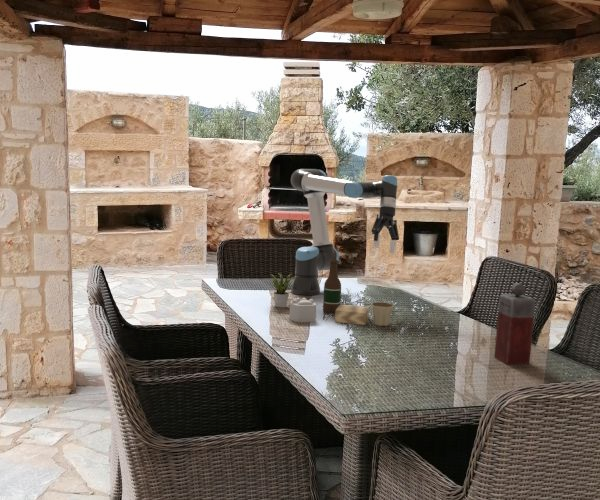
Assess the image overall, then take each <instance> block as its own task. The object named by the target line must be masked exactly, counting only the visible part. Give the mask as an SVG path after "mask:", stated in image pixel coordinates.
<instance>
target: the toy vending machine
mask: <svg viewBox="0 0 600 500" xmlns="http://www.w3.org/2000/svg"><path fill="white" fill-rule="evenodd" d="M510 291H511V293H512V294H511V293H508V294H507V293H506V294H505V293H502V294H500V295H499V299H498V300H499V302H498V310H497V311H498V312H497V324H496V335H495V345H494V346H495V347H494V355H493V357H494V358H495V359H496V360H498V361H499V362H501V363H503V364H504V365H506V366H515V365H516V366H519V365H520V366H521V365H530V362H531V353H532V352H531V350H532V340H533V332H534V331H533V330H534V329H533V328H534V320H535V318H534V317H535V310H536V309H535V308H536V307H535V306H536V300H535V299H534V298H533V297H529V296H528V295H527V296H526V295H524V294H525V292H526V287H525V285H524V284H522V283H518V282H515V283H513V284H512V285H511V288H510Z"/></svg>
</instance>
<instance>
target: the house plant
mask: <svg viewBox="0 0 600 500" xmlns="http://www.w3.org/2000/svg"><path fill="white" fill-rule="evenodd" d="M278 275H279V278H280V279H279V280H278V279H277V278H276V276H274V275H273V274H271V276H272V277H271V276H270V278H271V279H272V283H273V284H271V283H270V284H269V285H270V286H273V289H274V290H275V292H273V299H274V305H275V307H276V308H286V307H287V306H288V301H289V295H290V293H289V292H286V291H287V290H291V287H293V286H292V285H291V282H290V281H292V279H293V280H294V279H295V276H293V277H291V276H292V273H290V274H288V275H287V276H286V278H285V279H284V278H283V277H284V276H283V274H282V273H281V272H279V273H278ZM297 277H298V276H297ZM292 290H293V289H292Z"/></svg>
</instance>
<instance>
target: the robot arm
mask: <svg viewBox="0 0 600 500" xmlns="http://www.w3.org/2000/svg"><path fill="white" fill-rule="evenodd" d="M290 184H291V186H292V187H293V189H294V190H297V191H299V192H303V197H305V198H306V199H307V206H308V212H309V220H310V228H311V235H312V236H311V237H312V241H313V243H312V245H310V246H302V247H299V248H298V249H297V250H296V252H295V267H294V269H295V270H294V272H295V273H294V278H293V282H292V283H291V286H293V287H290V288H291V289H290V293H292V294H295V295H300V296H301V295H302V296H315V295H319V294H321V286H320V283H319V280H318V274H319V272H320V271H330V260H332V259H335V260H338V261H339V260H340V255H339V252H338V250H337V249H336V248H335V247H334V244H333V242H332V241H330V235H329V229H328V221H327V213H326V207H325V199H324V196H325V194H326V193H328V194H334V195H338V196H345V197H348V198H351V199H372V198H379V197H380V200H379V201H380V202H379V214H376V218H375V221H374V223H373V226H372V228H371V233H372V235H373V247H372V248H373V249H380V241H381V240H380V239H381V233H380V232H381V231H382V230H383V228H384V227H385V228H386V229H387V230H388V233H389V235H390V242H389V254H390V255H391V254H396V245H397V241H399V240H400V236H399V230H398V223H397V222H398V221H397V219H394V217H395V216H396V205H397V192H398V187H399V186H398V177H396V176H395V175H390V174H388V175H383V176H382V177H381V181H380V180H379V181H373V182H367V181H366V182H365V181H362V182H361V181H360V182H359V181H354V180H353V181H352V180H346V179H341V178H333V177H328V175H327V174H326V172H324V170H321V169H317V168H300V169H299V168H298V169H296V170H295V171H293V172H292V174H291V177H290ZM297 276H298V277H297ZM292 289H293V290H292Z"/></svg>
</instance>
